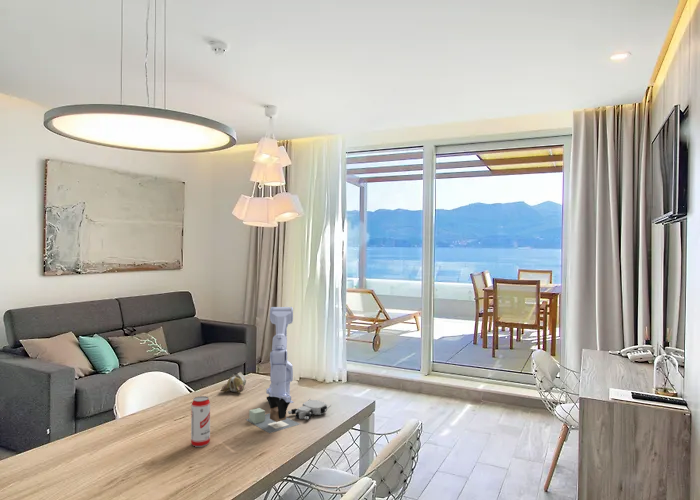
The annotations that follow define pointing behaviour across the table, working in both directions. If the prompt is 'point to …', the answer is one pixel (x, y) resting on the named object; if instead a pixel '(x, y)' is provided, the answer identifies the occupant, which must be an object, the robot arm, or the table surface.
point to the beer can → (200, 421)
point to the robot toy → (310, 409)
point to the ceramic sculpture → (235, 383)
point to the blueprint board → (274, 424)
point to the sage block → (257, 415)
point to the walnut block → (275, 414)
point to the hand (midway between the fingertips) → (278, 416)
